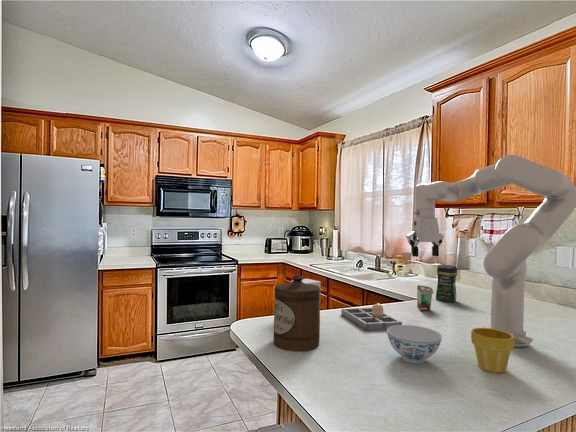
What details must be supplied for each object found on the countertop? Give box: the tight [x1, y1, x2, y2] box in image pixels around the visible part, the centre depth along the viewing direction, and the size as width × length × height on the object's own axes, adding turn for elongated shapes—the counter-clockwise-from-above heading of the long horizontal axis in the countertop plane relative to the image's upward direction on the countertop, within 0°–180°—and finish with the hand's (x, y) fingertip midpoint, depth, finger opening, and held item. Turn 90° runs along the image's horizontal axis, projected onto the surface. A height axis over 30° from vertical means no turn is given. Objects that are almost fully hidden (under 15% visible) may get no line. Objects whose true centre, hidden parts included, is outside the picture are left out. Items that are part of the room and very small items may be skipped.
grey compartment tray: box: [340, 307, 403, 332], centre depth 142 cm, size 22×15×2 cm
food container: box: [416, 284, 434, 312], centre depth 164 cm, size 12×6×10 cm, turn 168°
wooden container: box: [273, 273, 321, 352], centre depth 114 cm, size 15×15×22 cm
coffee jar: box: [435, 264, 458, 303], centre depth 185 cm, size 10×8×19 cm
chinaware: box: [386, 324, 443, 364], centre depth 104 cm, size 15×15×8 cm
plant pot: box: [470, 327, 515, 374], centre depth 98 cm, size 10×10×10 cm
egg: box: [371, 303, 384, 317], centre depth 143 cm, size 4×4×6 cm
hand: (425, 256), depth 144 cm, fingers open, 9 cm apart
